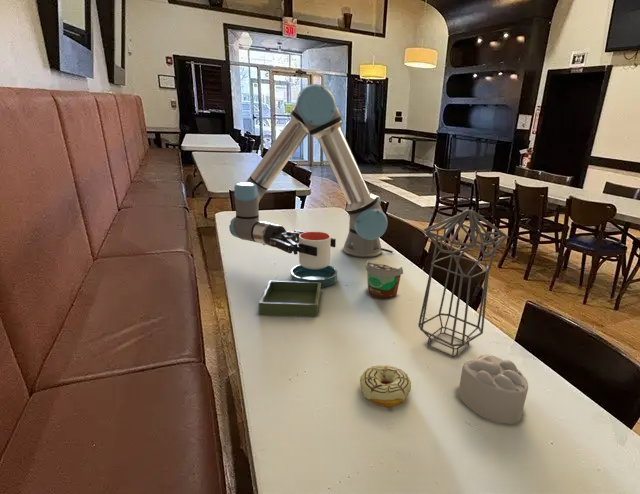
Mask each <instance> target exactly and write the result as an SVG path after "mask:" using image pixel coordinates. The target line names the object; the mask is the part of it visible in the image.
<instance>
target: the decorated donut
mask: <svg viewBox="0 0 640 494" xmlns="http://www.w3.org/2000/svg"><path fill="white" fill-rule="evenodd" d="M359 385H360V389H361V391H362V394H363V397H365V399H366V400H369V401H370V402H371V403H372V404H374V405H377V406H380V407H383V408H394V407H395V406H399V405H401V404H403V403H404V401H405V400H406V399H407V397H408V396H409V394H410V392H411V388H412V382H411V378H410V376H409V374H408V373H407V372H406V371H405V370H403V369H401V368H399V367H397V366H393V365H388V364H387V365H386V364H383V365H382V364H380V365H379V364H378V365H372V366H370V367H368V368H366V369H365V370H364V371H363V372H362V374H360V377H359Z"/></svg>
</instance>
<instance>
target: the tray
mask: <svg viewBox="0 0 640 494" xmlns="http://www.w3.org/2000/svg"><path fill="white" fill-rule="evenodd" d="M321 294H322V287H321V282H297V281H292V280H268V282H267V284H266V286H265V288H264V291H263V293H262V295H261V297H260V299H259V302H258V315H260V316H267V315H268V316H290V317H291V316H294V317H295V316H296V317H318V313H319V307H320V301H321V300H320V299H321Z"/></svg>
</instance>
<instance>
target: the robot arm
mask: <svg viewBox="0 0 640 494" xmlns="http://www.w3.org/2000/svg"><path fill="white" fill-rule="evenodd" d="M295 103H296V104H295V106H294V108H293V109H292V111H291V112H290V116H289V117H290V119H289V120H288V122H287V123H286V125H284V127H283V129H282V130H281V131H280V133H279V135H278V136H277V137H276V139H275V140H274V141H273V143H272V145H271V146H270V147H269V148H268V150H267V152H266V153H265V154H264V156H263V157H262V159H261V160H260V162H259V163H258V164H257V165H256V167H255V169H254V170H253V172H252V173H251V174H250V176H249V177H248V178H247V180H246V181H245V182H238V183H235V185H234V188H233V189H234V192H233V197H234V206H235V216H234V217H233V218H231V220H230V224H229V225H228V227H229V232H230V234H231V235H232V236H233V237H235V238H237V239H238V238H239V239H240V240H244V241H249V242H253V243H257V244H261V245H263V246H266V245H267V246H269V247H272V248H277V249H278V250H281V251H283V252H285V253H287V254H293V255H295V256H296V255H299V252H300V253H304V254H308V255H312V256H317V247H314V246H309V245H305V244H301V243H299V235H300V234H301V233H304V232H308V231H307V230H306V231H305V230H298V229H294V231H291V230H286V228H285V227H284V226H283V225H280V224H275V223H272V222H267V221H262V220H260V211H259V208H260V207H259V203H260V201H261V199H263V197H264V195H265V194H266V192H267V191H268V189H269V188H270V187H271V186H272V185H273V182H274V181H275V180H276V178H277V177H278V176H279V174H281V172H282V170H283V169H284V168H285V166H286V165H287V163H288V162H289V160H290V159H291V158H292V157H293V155H294V154H295V153H296V151H297V150H298V148H299V147H300V145H301V144H303V142H304V141H305V138H306V137H307V136H308V135H310V136H311V137H313V138H315V139H316V140H317V141H318V144H319V145H320V148H321V150H322V152H323V155H324V156H325V158H326V160H327V162H328V165H329V167H330V168H331V170H332V173H333V175H334V178H335V180H336V181H337V183H338V185H339V187H340V190H341V192H342V194H343V196H344V198H345V200H346V203H347V205H346V207H345V210H346V211H347V215H348V216H349V222H348V223H349V227H348V233H347V236H346V238H345V242H344V245H343V252H344V253H345V254H346V255H349V256H352V257H355V258H375V257H377V256H380V255H381V253H382V251H383V252H387V253H390V254H393V252H394V250H391V249H388V248H387V249H386V248H383V247H382V245H381V241H380V237H382V236H383V235H384V234H385V233H386V231H387V229H388V226H389V225H388V223H389V222H388V217H387V215H386V213H385V212H384V211H383V208H382V207H381V205H382V202H381V201H382V200H381V197H380V196H379V195H377V194H374V193H371V191H370V190H369V187H368V185H367V183H366V181H365V178H364V176H363V174H362V172H361V169H360V167H359V165H358V163H357V160H356V158H355V156H354V154H353V152H352V149H351V147H350V145H349V143H348V141H347V138H346V136H345V134H344V132H343V129H342V124H343V121H344V120H343V118H342V116H341V113H340V111H339V109H338V107H337V103H336V99H335V97H334V95H333V93H332V92H331V90H330V89H328V87H326V86H324V85H322V84H319V83H318V84H317V83H310V84H309V85H306V86H305V87H302V89H301V90H300V91H299V92H298V94H297V97H296V102H295ZM336 240H337V239H336V238H334V237H331V245H330V248H336V247H337V246H336V242H337V241H336Z"/></svg>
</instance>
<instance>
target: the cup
mask: <svg viewBox="0 0 640 494" xmlns="http://www.w3.org/2000/svg"><path fill="white" fill-rule="evenodd" d="M331 238H332V236H331V235H330V234H329V233H327V232H323V231H307V232H304V233H301V234H300V235H299V243H301V244H305V245H309V246H314V247H317V256H312V255H308V254H304V253H300V252H298V263H299V265H301V266H303V267H305V268H308V269H322V268H325V267H327V266H328V265H330V264H331V247H330V245H331ZM299 243H298V244H299Z"/></svg>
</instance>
